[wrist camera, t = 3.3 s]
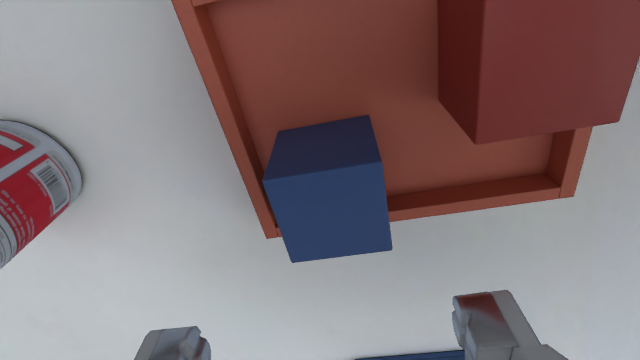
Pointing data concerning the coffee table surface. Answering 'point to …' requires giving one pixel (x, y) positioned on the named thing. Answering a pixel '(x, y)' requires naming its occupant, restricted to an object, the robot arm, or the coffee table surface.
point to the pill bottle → (31, 185)
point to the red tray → (362, 101)
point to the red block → (535, 64)
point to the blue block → (329, 190)
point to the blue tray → (426, 356)
